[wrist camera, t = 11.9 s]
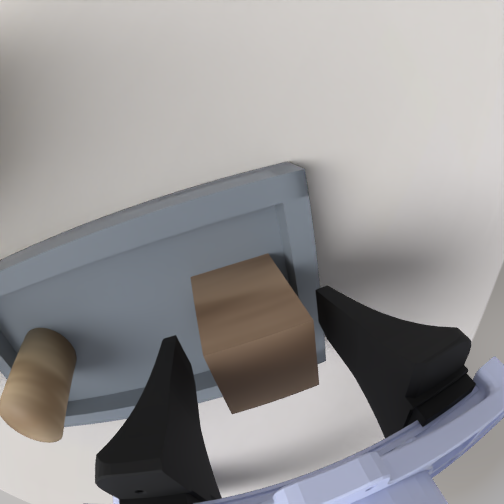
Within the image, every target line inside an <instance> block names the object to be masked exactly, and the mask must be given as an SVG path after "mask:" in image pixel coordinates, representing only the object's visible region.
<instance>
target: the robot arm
mask: <svg viewBox="0 0 504 504" xmlns="http://www.w3.org/2000/svg"><path fill="white" fill-rule="evenodd" d="M315 292H316V301H317V311H318V321H319V324H320V326H321V328H322V330H323V332H324V334H325V335H326V337H327V339H328V340H329V342H330V343H331V345H332V346H333V347H334V349H335V350H336V352H337V353H338V354H339V356H340V357H341V358H342V360H343V361H344V363H345V364H346V365H347V367H348V368H349V369H350V371H351V372H352V374H353V375H354V377H355V378H356V380H357V382H358V384H359V386H360V387H361V389H362V391H363V393H364V395H365V397H366V398H367V400H368V402H369V404H370V406H371V408H372V410H373V412H374V414H375V417H376V419H377V421H378V423H379V425H380V427H381V430H382V432H383V434H384V437H385V439H383V440H382V441H380V442H378V443H376V444H374V445H372V446H370V447H368V448H366V449H364V450H362V451H360V452H358V453H356V454H354V455H351V456H349V457H347V458H345V459H343V460H340V461H338V462H336V463H333V464H331V465H328V466H326V467H324V468H321V469H319V470H316V471H313V472H311V473H308V474H305V475H303V476H300V477H297V478H294V479H291V480H288V481H285V482H282V483H279V484H276V485H272V486H269V487H266V488H262V489H258V490H255V491H251V492H247V493H243V494H239V495H235V496H230V497H226V498H222V497H221V495H220V492H219V489H218V486H217V484H216V481H215V478H214V475H213V472H212V469H211V465H210V462H209V459H208V455H207V452H206V448H205V444H204V440H203V436H202V432H201V427H200V420H199V411H198V402H197V393H196V383H195V379H194V374H193V370H192V366H191V363H190V361H189V359H188V357H187V356H186V354H185V352H184V350H183V348H182V346H181V344H180V342H179V340H178V338H177V336H176V335H174V336H171V337H167V338H164V339H163V340H162V343H161V346H160V349H159V352H158V355H157V358H156V361H155V364H154V366H153V369H152V372H151V374H150V377H149V379H148V381H147V384H146V386H145V388H144V390H143V393H142V395H141V397H140V399H139V400H138V402H137V404H136V406H135V408H134V409H133V411H132V412H131V414H130V416H129V417H128V419H127V420H126V422H125V423H124V424H123V426H122V427H121V428H120V430H119V431H118V432H117V433H116V435H115V436H114V437H113V438H112V439H111V440H110V442H109V443H108V444H107V445H106V446H105V447H104V448H103V449H102V450H101V451H100V452H99V453H98V454H97V455H96V463H95V483H96V484H97V486H98V487H99V488H101V489H102V490H103V491H105V492H107V493H109V494H111V495H112V496H113V504H448V502H447V501H446V499H445V498H444V496H443V495H442V493H441V491H440V490H439V488H438V487H437V485H436V484H435V482H434V481H433V479H432V478H433V477H434V476H436V475H437V474H438V473H440V472H441V471H442V470H444V469H445V468H446V467H448V466H449V465H450V464H452V463H453V462H454V461H455V460H457V459H458V458H459V457H460V456H462V455H463V454H464V453H465V452H466V451H468V450H469V449H470V448H471V447H472V446H473V445H474V444H475V443H477V442H478V441H479V440H480V439H481V438H482V437H483V436H485V434H487V433H488V432H489V431H490V430H491V429H492V428H493V427H494V426H495V425H496V424H497V423H498V422H499V421H500V420H501V419H503V418H504V364H502V362H501V361H500V360H499V359H497V358H496V356H494V357H492V358H491V359H490V360H489V361H488V362H486V363H485V364H484V365H483V366H482V367H481V368H480V369H479V370H478V371H477V372H476V374H475V376H474V378H473V380H472V379H471V378H470V377H469V376H468V375H467V372H468V369H467V368H466V367H465V366H464V364H465V361H466V359H467V356H468V354H469V351H470V348H471V340H470V339H469V338H468V337H467V336H466V335H465V334H464V333H463V332H462V331H461V330H459V329H458V328H454V327H437V326H430V325H423V324H418V323H413V322H409V321H405V320H401V319H398V318H395V317H392V316H389V315H386V314H383V313H381V312H378V311H376V310H374V309H371V308H369V307H367V306H365V305H363V304H360V303H358V302H357V301H355V300H353V299H351V298H349V297H347V296H345V295H343V294H342V293H340V292H338V291H336V290H334V289H333V288H331V287H329V286H325V287H322V288H319V289H317V290H315ZM84 504H86V503H84Z"/></svg>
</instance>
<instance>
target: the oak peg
mask: <svg viewBox="0 0 504 504" xmlns="http://www.w3.org/2000/svg"><path fill="white" fill-rule="evenodd" d="M76 360H77V356H76V352H75V350H74V348H73V346H72V345H71V343H70V342H69V341H68V340H67V339H66V338H65V337H63V336H62V335H61V334H59V333H57V332H55V331H53V330H51V329H47V328H34V329H32V330H30V331H29V332H28V333H27V334H26V336H25V338H24V340H23V343H22V345H21V347H20V349H19V352H18V354H17V357H16V359H15V361H14V364H13V366H12V369H11V371H10V374H9V377H8V379H7V382H6V385H5V387H4V390H3V393H2V396H1V399H0V415H1V417H2V418H3V420H4V421H5V422H6V423H7V424H8V425H9V426H10V427H11V428H13V429H14V430H15V431H17V432H18V433H20V434H22V435H24V436H26V437H28V438H30V439H33V440H36V441H40V442H48V443H50V442H57V441H59V440H60V439H61V438H62V436H63V429H64V422H65V416H66V410H67V404H68V398H69V393H70V388H71V383H72V378H73V374H74V369H75V365H76Z"/></svg>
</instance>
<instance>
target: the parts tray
mask: <svg viewBox="0 0 504 504" xmlns="http://www.w3.org/2000/svg"><path fill="white" fill-rule="evenodd" d="M267 253H268V254H269V255H270V257H271V258H272V260H273V261H274V263H275V264H276V266H277V267H278V268H279V270H280V271H281V273H282V274H283V276H284V277H285V279H286V280H287V282H288V283H289V285H290V286H291V288H292V289H293V291H294V292H295V293H296V295H297V296H298V298H299V299H300V301H301V302H302V304H303V305H304V307H305V308H306V310H307V311H308V313H309V314H310V316H311V317H312V319H313V321H314V331H315V342H316V353H317V364H319V363H322V362H324V361H326V355H325V340H324V332H323V330H322V328H321V326H320V324H319V321H318V311H317V301H316V292H315V290H317V289H319V288H320V282H319V273H318V263H317V255H316V246H315V238H314V230H313V222H312V215H311V208H310V201H309V194H308V187H307V181H306V174H305V169H303V168H301V167H299V166H297V165H294V164H292V163H290V162H284V163H280V164H276V165H272V166H268V167H264V168H260V169H256V170H252V171H248V172H244V173H241V174H237V175H233V176H230V177H226V178H222V179H219V180H215V181H212V182H208V183H205V184H201V185H198V186H195V187H191V188H188V189H185V190H182V191H178V192H175V193H172V194H169V195H166V196H163V197H160V198H157V199H153V200H150V201H147V202H145V203H142V204H139V205H136V206H133V207H130V208H127V209H124V210H121V211H119V212H116V213H113V214H110V215H108V216H105V217H102V218H99V219H97V220H94V221H92V222H89V223H86V224H84V225H81V226H79V227H76V228H74V229H71V230H68V231H66V232H64V233H61V234H59V235H56V236H54V237H51V238H49V239H47V240H44V241H42V242H40V243H37V244H35V245H33V246H30V247H28V248H26V249H24V250H21V251H19V252H17V253H15V254H13V255H11V256H8V257H6V258H4V259H2V260H0V371H1V373H2V374H3V375H4V376H5V377H6V379H8V377H9V374H10V371H11V369H12V366H13V364H14V361H15V359H16V357H17V354H18V352H19V349H20V347H21V345H22V343H23V340H24V338H25V336H26V334H27V333H28V332H29V331H30V330H32V329H34V328H47V329H51V330H53V331H55V332H57V333H59V334H61V335H62V336H63V337H65V338H66V339H67V340H68V341H69V342H70V343H71V345H72V346H73V348H74V350H75V352H76V356H77V360H76V365H75V369H74V374H73V378H72V383H71V388H70V393H69V398H68V404H67V410H66V416H65V422H64V427H69V426H78V425H87V424H95V423H102V422H109V421H116V420H122V419H128V417H129V416H130V414H131V412H132V411H133V409H134V408H135V406H136V404H137V402H138V400H139V399H140V397H141V395H142V393H143V390H144V388H145V386H146V384H147V381H148V379H149V377H150V374H151V372H152V369H153V366H154V364H155V361H156V358H157V355H158V352H159V349H160V346H161V343H162V340H163V339H164V338H167V337H171V336H174V335H176V336H177V338H178V340H179V342H180V344H181V346H182V348H183V350H184V352H185V354H186V356H187V357H188V359H189V361H190V363H191V366H192V370H193V374H194V379H195V383H196V393H197V402H198V403H201V402H205V401H209V400H212V399H216V398H220V397H223V396H222V394H221V392H220V390H219V388H218V386H217V384H216V382H215V380H214V377H213V375H212V373H211V371H210V369H209V367H208V365H207V363H206V361H205V359H204V357H203V352H202V346H201V341H200V335H199V329H198V323H197V317H196V311H195V305H194V298H193V292H192V285H191V278H190V277H192V276H195V275H199V274H202V273H205V272H209V271H212V270H215V269H218V268H222V267H225V266H228V265H231V264H235V263H238V262H241V261H244V260H248V259H251V258H254V257H258V256H261V255H264V254H267Z"/></svg>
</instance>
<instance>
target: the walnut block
mask: <svg viewBox="0 0 504 504" xmlns="http://www.w3.org/2000/svg"><path fill="white" fill-rule="evenodd" d="M190 278H191V285H192V292H193V298H194V305H195V311H196V317H197V323H198V329H199V335H200V341H201V346H202V352H203V357H204V359H205V361H206V363H207V365H208V367H209V369H210V371H211V373H212V375H213V377H214V380H215V382H216V384H217V386H218V388H219V390H220V392H221V394H222V396H223V398H224V400H225V401H226V403H227V405H228V407H229V409H230V411H231V413H232V414H235V413H238V412H241V411H245V410H248V409H251V408H255V407H258V406H261V405H264V404H267V403H270V402H273V401H276V400H279V399H282V398H285V397H287V396H290V395H293V394H296V393H298V392H301V391H304V390H306V389H309V388H312V387H314V386H317V385H319V377H318V365H317V353H316V342H315V331H314V321H313V319H312V317H311V316H310V314H309V313H308V311H307V310H306V308H305V307H304V305H303V304H302V302H301V301H300V299H299V298H298V296H297V295H296V293H295V292H294V291H293V289H292V288H291V286H290V285H289V283H288V282H287V280H286V279H285V277H284V276H283V274H282V273H281V271H280V270H279V268H278V267H277V266H276V264H275V263H274V261H273V260H272V258H271V257H270V255H269V254H268V253H267V254H264V255H261V256H258V257H254V258H251V259H248V260H244V261H241V262H238V263H235V264H231V265H228V266H225V267H222V268H218V269H215V270H212V271H209V272H205V273H202V274H199V275H195V276H192V277H190Z"/></svg>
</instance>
